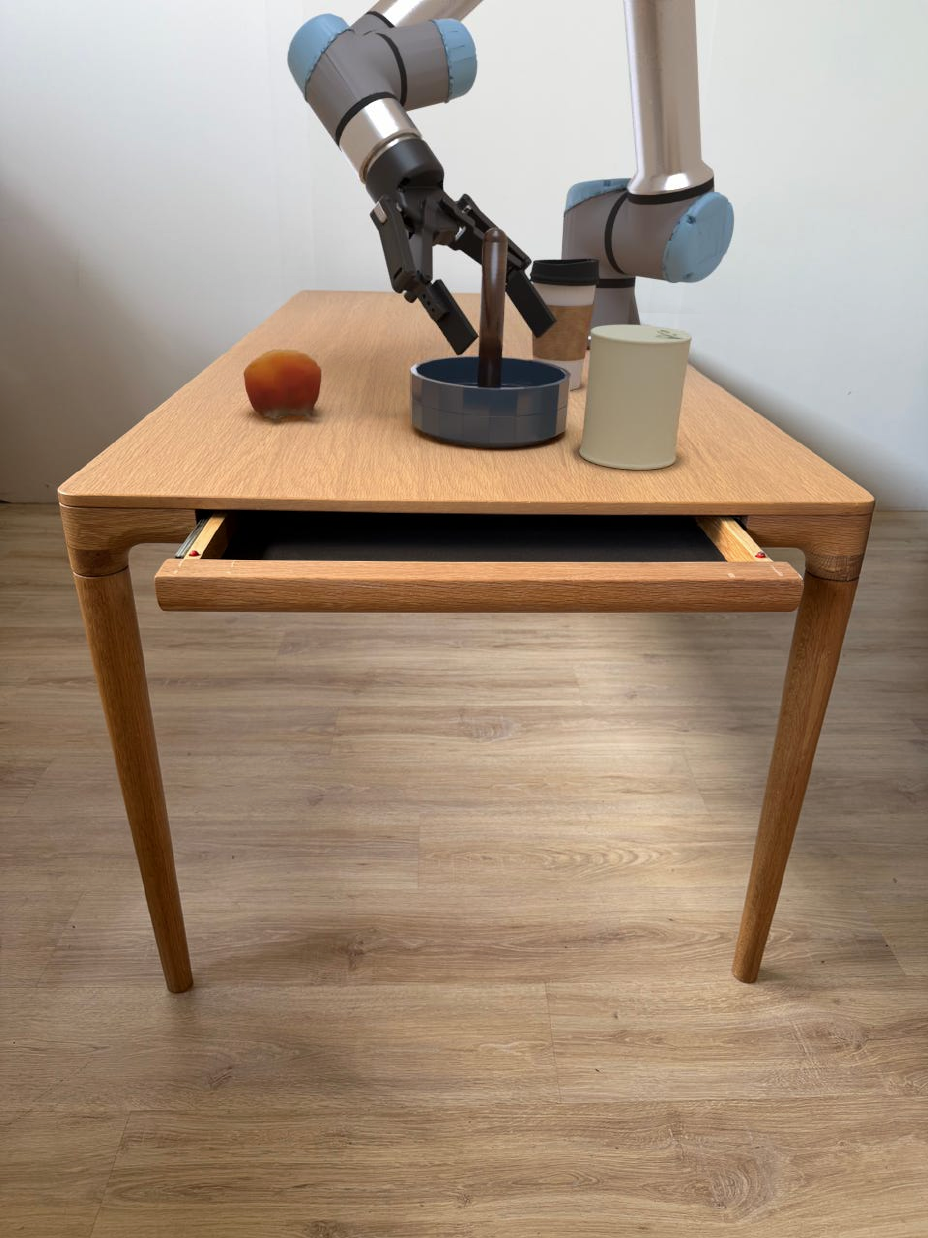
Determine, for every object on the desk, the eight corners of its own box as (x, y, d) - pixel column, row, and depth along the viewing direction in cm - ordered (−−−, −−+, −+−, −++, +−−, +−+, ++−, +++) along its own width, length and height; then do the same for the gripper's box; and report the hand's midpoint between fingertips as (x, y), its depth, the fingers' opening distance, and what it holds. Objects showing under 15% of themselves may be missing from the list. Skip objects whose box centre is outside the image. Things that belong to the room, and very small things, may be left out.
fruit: (264, 417, 91) (247, 339, 92) (248, 440, 99) (233, 368, 99) (340, 411, 95) (324, 335, 95) (320, 433, 102) (305, 363, 102)
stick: (496, 413, 99) (505, 225, 90) (520, 425, 95) (531, 229, 86) (455, 418, 96) (460, 225, 88) (477, 429, 93) (485, 229, 84)
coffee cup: (587, 395, 112) (599, 263, 105) (518, 389, 113) (525, 259, 106) (592, 381, 119) (604, 257, 112) (527, 376, 120) (535, 253, 114)
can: (654, 476, 83) (672, 339, 78) (562, 458, 87) (573, 327, 82) (689, 453, 90) (707, 326, 85) (602, 437, 94) (615, 315, 89)
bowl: (547, 410, 104) (551, 356, 101) (582, 450, 90) (588, 388, 87) (405, 410, 102) (405, 355, 99) (417, 451, 88) (418, 388, 85)
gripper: (449, 191, 104) (552, 345, 102) (284, 191, 86) (406, 379, 84) (489, 138, 98) (598, 300, 97) (322, 127, 80) (453, 326, 79)
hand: (509, 337), depth 91 cm, fingers open, 13 cm apart
